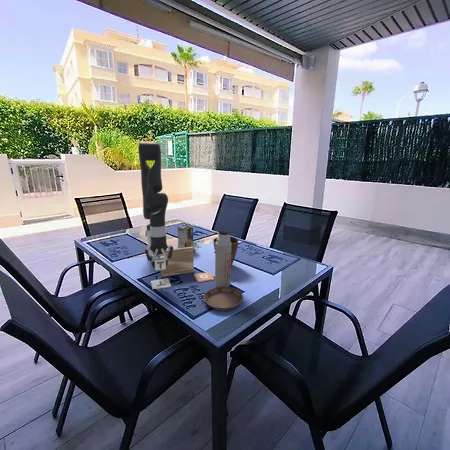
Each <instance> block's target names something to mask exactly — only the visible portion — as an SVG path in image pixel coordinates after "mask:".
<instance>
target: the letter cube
mask: <svg viewBox="0 0 450 450" xmlns="http://www.w3.org/2000/svg"><path fill="white" fill-rule="evenodd" d="M154 261H155V268H154V269H155V271H161V270H163V269H166V260H165V258H164V256H157V257H155V260H154Z"/></svg>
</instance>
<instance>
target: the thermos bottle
mask: <svg viewBox="0 0 450 450" xmlns="http://www.w3.org/2000/svg"><path fill="white" fill-rule="evenodd" d="M229 235H230V234H229V231H228V230H219V231H218V238H217V237H216V238H217V242H216V243H215V249H214V255H215V257H214V259H215V260H214V261H215V262H214V264H215V265H214V271H215V272H214V279H215V280H214V284H215V286H216V287H230V285H231V276H232V275H231V274H232V273H231V272H232V266H231V244H232V243H231V242H230V238H229V237H230V236H229Z"/></svg>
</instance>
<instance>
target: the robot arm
mask: <svg viewBox="0 0 450 450" xmlns="http://www.w3.org/2000/svg"><path fill="white" fill-rule="evenodd" d="M137 148H138V158H139V165H140V174H141V175H140V176H141V178H140V179H141V181H140V182H141V192H142V193H141V194H142V214H143V218H144V219H145V220H149V223H148V224H147V225H146V240H147V242H146V243H147V248H144V249H143V250H144V253H145V255H146V258H147V261H148V262H149V261H150V262H151V267H152V268H153V269H155V261H154V260H155V257H160V254H163V255H164V257H165V260H166V267H167V265H168V259H169V258H171V256H172V251H173V249H174V247H173V245H168V244H167V228H166V211H167V207H168V203H169V197H168V195H167V194H166V193H165V192H162V191H163V180H162V151H161V149H162V148H161V145H160V144H159V143H158V142H155V141H154V142H146V141H145V142H143V141H142V142H139V144H138V147H137ZM147 161H150V162H151V161H154V162H153V164H152V166H151V168H150V167H149V164H148V163H147ZM166 250H169V253H168V255H167V256H166V254H165V251H166Z"/></svg>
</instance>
